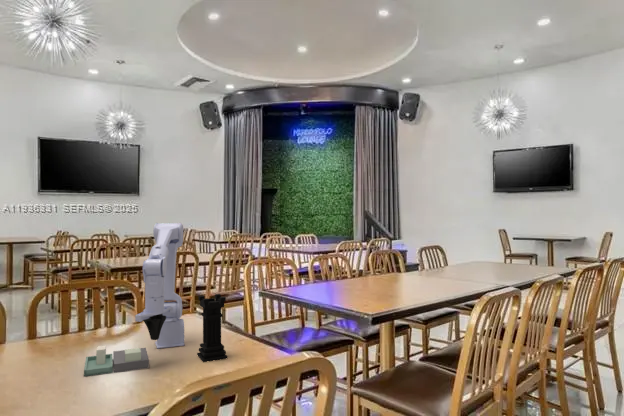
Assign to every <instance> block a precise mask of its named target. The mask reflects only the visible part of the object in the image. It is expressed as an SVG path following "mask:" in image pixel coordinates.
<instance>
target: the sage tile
mask: <svg viewBox="0 0 624 416" xmlns="http://www.w3.org/2000/svg"><path fill="white" fill-rule="evenodd" d="M140 348H141V347H135V348H127V349H124V350H125V362H130V361H137V360H141V350H140Z"/></svg>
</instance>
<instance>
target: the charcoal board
mask: <svg viewBox="0 0 624 416" xmlns="http://www.w3.org/2000/svg"><path fill="white" fill-rule="evenodd" d="M139 348H140V350H141V360H137V361H130V362H125V350H126V349H121V350H116V351H115V350H114V351H113V353H112V362H113V374H114V373H120V372H121V373H122V372H128V371H129V372H130V371H135V370H137V371H138V370H143V369H149V368H150V359H149V355H148V351H147V347H139Z"/></svg>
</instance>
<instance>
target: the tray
mask: <svg viewBox="0 0 624 416" xmlns="http://www.w3.org/2000/svg"><path fill="white" fill-rule="evenodd" d="M84 361H85V362H84V369H83V377H90V376H91V377H92V376H99V375H105V374H114V365H113V353H106V362H105V364H98V365H96V355H92V356H89V355H88V356H86V357H85V360H84Z"/></svg>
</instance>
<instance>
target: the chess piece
mask: <svg viewBox="0 0 624 416" xmlns="http://www.w3.org/2000/svg"><path fill="white" fill-rule="evenodd" d="M198 301H199V306H200V307H201V308H202V312H201V316H202V343H199V347H198V352H196V356H197V355H198V356H197V357H198V358H199V359H200V361H201V360H202V361H203V362H202V361H201V362H202V363H208V362H207V361H209V362H214V361H213V360H215V361H221V360H226V358H227V359H228V355H227V354H226V353H227V352H226V349H225V345H224V344H223V343H222V318H223V316H224V314H223V313H222V308H225V302H226V301H227V299H226V297H225V296H222V294H220V293H217V294H216V293H215V294H214V298H213V297H212V298H208V297H207V298H205V295H198ZM220 359H221V360H220Z"/></svg>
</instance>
